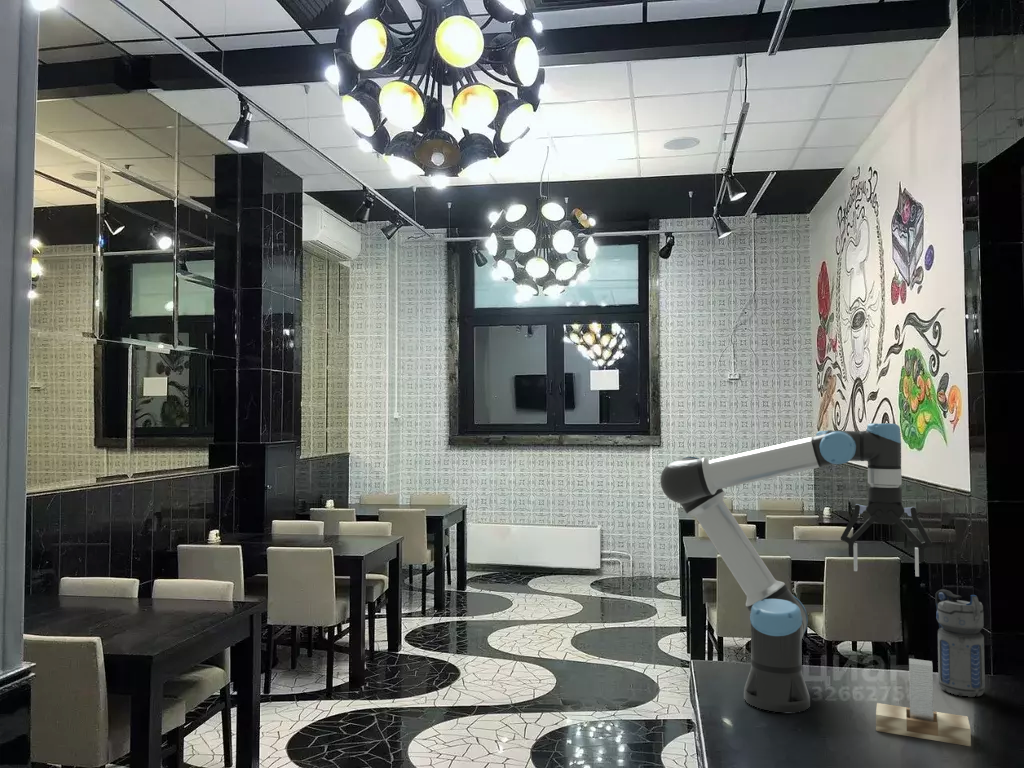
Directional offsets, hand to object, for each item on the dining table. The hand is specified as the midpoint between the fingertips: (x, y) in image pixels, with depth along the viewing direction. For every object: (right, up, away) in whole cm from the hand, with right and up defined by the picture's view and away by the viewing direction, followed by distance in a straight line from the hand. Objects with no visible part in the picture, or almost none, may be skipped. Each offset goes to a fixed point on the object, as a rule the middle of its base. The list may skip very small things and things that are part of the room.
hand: (885, 573), depth 193 cm
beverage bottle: (+21, -31, +6) cm, 38 cm away
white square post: (-2, -29, -20) cm, 35 cm away
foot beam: (-2, -30, -21) cm, 36 cm away
